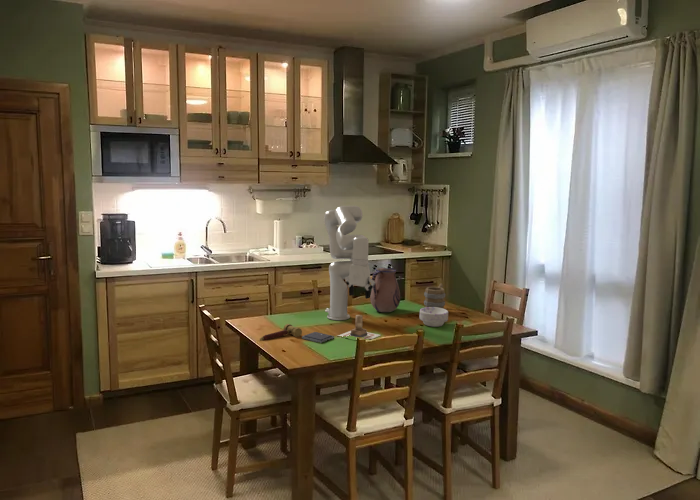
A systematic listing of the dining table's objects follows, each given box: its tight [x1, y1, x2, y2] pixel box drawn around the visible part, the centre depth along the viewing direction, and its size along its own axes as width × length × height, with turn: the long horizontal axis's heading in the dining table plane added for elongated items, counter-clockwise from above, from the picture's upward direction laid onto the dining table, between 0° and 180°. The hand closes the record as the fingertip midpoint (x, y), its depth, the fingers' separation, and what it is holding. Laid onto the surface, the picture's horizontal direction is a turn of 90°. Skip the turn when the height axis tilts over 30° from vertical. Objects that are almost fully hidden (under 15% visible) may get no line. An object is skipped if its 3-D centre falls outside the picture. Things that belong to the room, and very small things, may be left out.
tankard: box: [423, 283, 446, 309], centre depth 334 cm, size 20×13×15 cm, turn 150°
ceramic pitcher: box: [369, 267, 401, 313], centre depth 329 cm, size 18×21×25 cm
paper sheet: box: [337, 330, 381, 340], centre depth 280 cm, size 16×15×1 cm
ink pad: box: [301, 331, 335, 344], centre depth 275 cm, size 12×10×2 cm
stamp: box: [350, 314, 368, 337], centre depth 280 cm, size 6×6×10 cm
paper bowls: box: [418, 306, 449, 328], centre depth 303 cm, size 15×15×8 cm
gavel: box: [259, 323, 303, 341], centre depth 276 cm, size 21×5×10 cm
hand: (359, 296), depth 278 cm, fingers open, 9 cm apart
